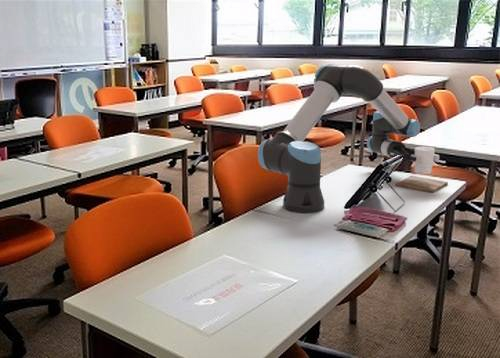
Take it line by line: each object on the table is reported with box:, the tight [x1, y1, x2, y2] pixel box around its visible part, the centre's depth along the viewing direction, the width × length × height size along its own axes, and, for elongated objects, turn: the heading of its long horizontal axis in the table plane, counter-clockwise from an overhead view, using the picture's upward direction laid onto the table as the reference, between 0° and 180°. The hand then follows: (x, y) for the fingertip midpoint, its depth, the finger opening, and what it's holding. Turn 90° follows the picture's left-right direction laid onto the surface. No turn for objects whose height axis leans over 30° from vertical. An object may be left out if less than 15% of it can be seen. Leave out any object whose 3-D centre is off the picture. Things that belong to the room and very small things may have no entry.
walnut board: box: [394, 175, 449, 194], centre depth 213 cm, size 16×16×1 cm
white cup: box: [413, 146, 436, 175], centre depth 211 cm, size 8×8×10 cm
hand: (430, 159), depth 207 cm, fingers closed on white cup, 8 cm apart
